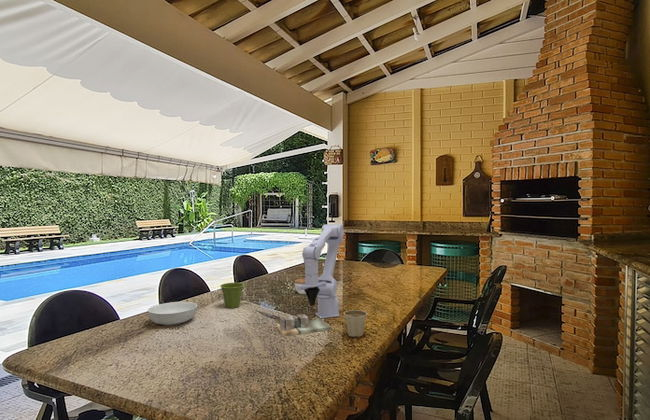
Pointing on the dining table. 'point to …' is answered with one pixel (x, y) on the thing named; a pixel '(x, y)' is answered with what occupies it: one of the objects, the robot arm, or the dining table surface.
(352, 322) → the flower pot
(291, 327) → the base
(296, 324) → the charcoal brick
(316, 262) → the robot arm
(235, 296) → the plant pot
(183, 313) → the serving bowl
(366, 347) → the dining table surface
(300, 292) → the lidded jar
